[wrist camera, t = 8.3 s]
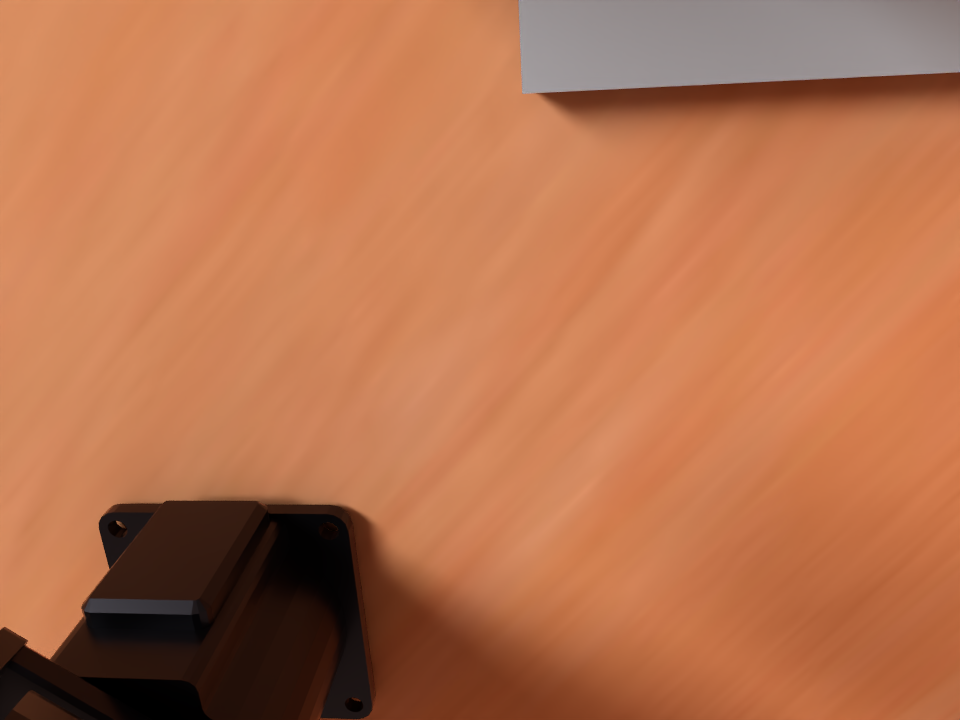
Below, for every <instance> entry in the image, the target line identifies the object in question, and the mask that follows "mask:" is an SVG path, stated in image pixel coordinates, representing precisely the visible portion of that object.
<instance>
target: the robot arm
mask: <svg viewBox="0 0 960 720" xmlns="http://www.w3.org/2000/svg"><path fill="white" fill-rule="evenodd" d="M116 521H120V522H122V523H123V524H124V525H125V526H126V528H127V529H125V528H122V527H120V526H119V525H118V524H117V522H116ZM327 522H328V523H332V524H334V525H335V526H336V527H337V528H338V530H337V531H331V530H328V529H327V528H326V527H325V526H324V524H323V523H327ZM99 530H100V534H101V538H102V542H103V546H104V550H105V554H106V557H107V561H108V565H109V569H110V570H109V571H108V572H107V574H106V575H105V576H104V577H103V579H102V580H101V581H100V582H99V584H98V585H97V586H96V587H95V589H94V590H93V591H92V592H91V594H90V595H89V596H88V597H87V599H86V600H85V601H84V602H83V604H82V607H81V608H82V612H83V618H82V619H81V620H80V621H79V623H78V624H77V625H76V627H75V628H74V629H73V630H72V632H71V633H70V634H69V636H68V637H67V638H66V639H65V641H64V642H63V643H62V645H61V646H60V647H59V648H58V650H57V651H56V652H55V654H54V655H53V656H52V657H51V659H48V658H46V657H44V656H43V655H41V654H39V653H38V652H36V651H34V650H32V649H31V648H29V647H27V646H26V644H27V642H28V640H26V639H24V638H23V637H21V636H19V635H18V634H16V633H14V632H12V631H11V630H9V629H7V628H6V627H4V628H2V629H1V630H0V720H320V718H340V719H361V718H364V717H366V716H368V715H369V714H370V712H371V711H372V708H373V705H374V701H375V687H374V680H373V673H372V665H371V658H370V650H369V643H368V635H367V628H366V620H365V613H364V605H363V598H362V590H361V583H360V576H359V568H358V561H357V553H356V546H355V538H354V531H353V523H352V520H351V517H350V515H349V514H348V513H347V512H346V511H345V510H344V509H342V508H340V507H338V506H332V505H264V504H262V503H259V502H257V501H165V502H164V503H163V504H117V505H113V506H112V507H111V508H109V509H108V510H107V511H106V513H105V514H104V515H103V516H102V517H101V519H100V521H99ZM352 697H354V698H358V699H359V700H361V701H355V700H353V699H351V698H352Z"/></svg>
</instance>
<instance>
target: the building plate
mask: <svg viewBox="0 0 960 720" xmlns="http://www.w3.org/2000/svg"><path fill="white" fill-rule="evenodd" d="M519 24H520V48H521V73H522V94H526V93H546V92H567V91H587V90H607V89H628V88H648V87H668V86H689V85H709V84H729V83H750V82H770V81H790V80H811V79H831V78H851V77H872V76H892V75H913V74H933V73H953V72H960V0H519Z"/></svg>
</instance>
